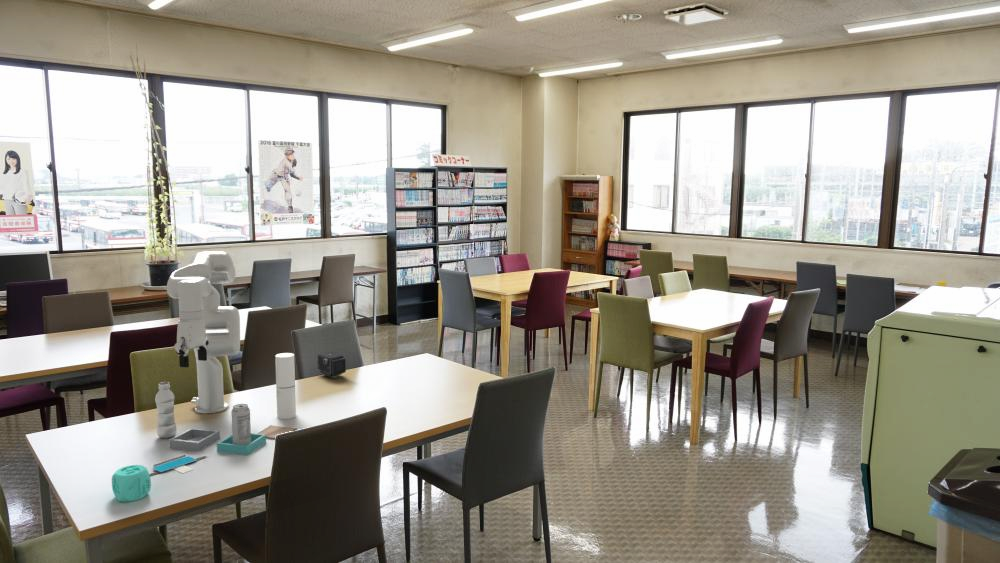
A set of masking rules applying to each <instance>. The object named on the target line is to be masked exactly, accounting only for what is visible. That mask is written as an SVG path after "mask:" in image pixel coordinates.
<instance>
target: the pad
mask: <svg viewBox="0 0 1000 563" xmlns="http://www.w3.org/2000/svg"><path fill="white" fill-rule="evenodd" d="M297 429H298V428H297V427H290V426H282V425H281V426H279V425H271V424H270V425H269V426H267V427H266V428H264V429H262V430H261V431H259V432H258V433H256V434H264V435H266V439H267V438H268V440H269V439H270V440H276V439H275V436H276V435H277V434H281V433H285V432H289V431H294V430H295V431H297ZM295 431H294V432H295Z"/></svg>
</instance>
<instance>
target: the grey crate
mask: <svg viewBox="0 0 1000 563" xmlns="http://www.w3.org/2000/svg"><path fill="white" fill-rule="evenodd" d="M192 438H197V439H198V438H200V440H199V441H196V440H195V441H194V440H190V439H192ZM168 440H169V441H168V442H169V448H170V449H177V450H187V451H194V452H197V451H198V452H199V451H202V450H203V449H205V448H207V447H208V446H210V445H212V444H215V443H216V442H217V441H220V440H221V433H220V430H214V429H213V430H212V429H202V428H196V427H195V428H194V427H193V428H190V429H189V428H188V430H185V431H184V432H183V431H182V432H181V433H180V434H177V435H174V436H172V437H170V438H169V439H168Z"/></svg>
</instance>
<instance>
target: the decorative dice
mask: <svg viewBox="0 0 1000 563" xmlns="http://www.w3.org/2000/svg"><path fill="white" fill-rule="evenodd" d="M149 474H150V472H149V470H148V468H147V467H146V466H145V465H143V464H133V465H126V466H123V467H121V468H119V469H117V470H116V471H115V472H113V475H112V476H111V488H112V492H113V494H114V495H113V496H114V498H115V499H116V500H117V501H118V502H121V503H123V502H124V503H130V502H135V501H138V500H141V499H143V498H144V497H146V496H147V495H148V493H149V492H150V490H151V488H152V482H151V476H150V475H149Z"/></svg>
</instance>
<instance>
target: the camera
mask: <svg viewBox="0 0 1000 563" xmlns="http://www.w3.org/2000/svg"><path fill="white" fill-rule="evenodd" d="M346 360H347V359H346V358H345V357H344V355H342V354H339V353H336V352H333V351H330V352H326V353H320V354H317V369H318V370H319V371H320V373H321V374H322V375H325V376H326V377H330V378H331V379H336V378H338V376H341V375H342V374H344V373H346V371H347V370H346V368H347V366H346V365H347V364H346Z"/></svg>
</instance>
